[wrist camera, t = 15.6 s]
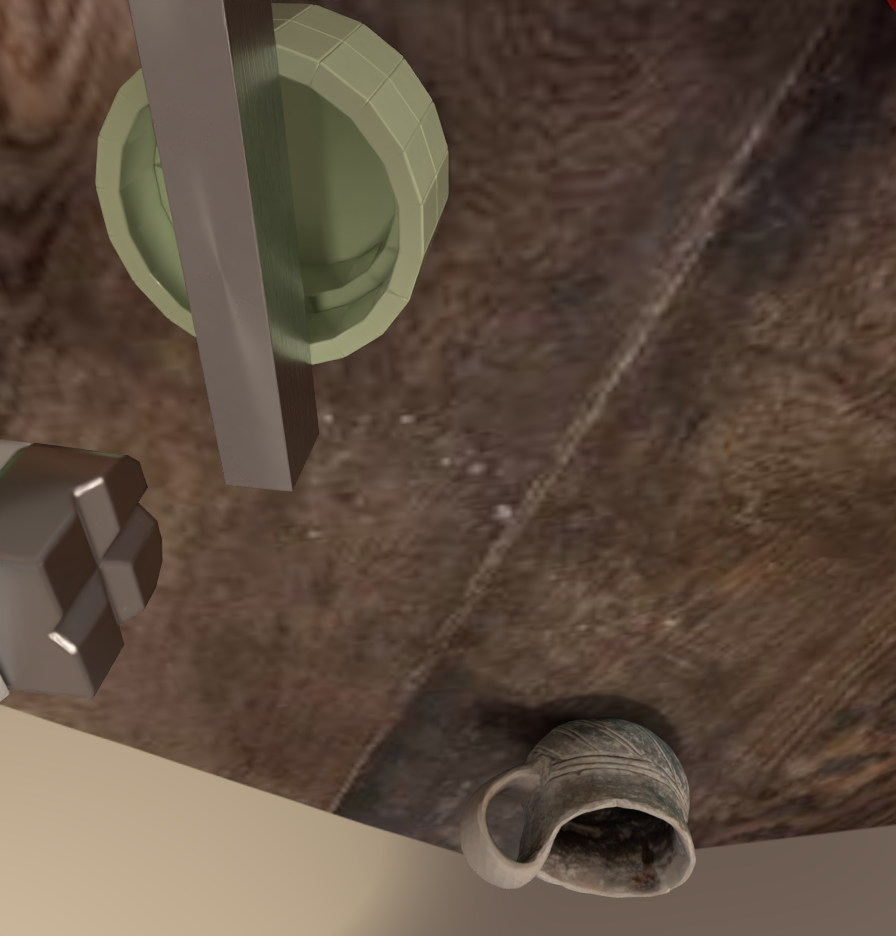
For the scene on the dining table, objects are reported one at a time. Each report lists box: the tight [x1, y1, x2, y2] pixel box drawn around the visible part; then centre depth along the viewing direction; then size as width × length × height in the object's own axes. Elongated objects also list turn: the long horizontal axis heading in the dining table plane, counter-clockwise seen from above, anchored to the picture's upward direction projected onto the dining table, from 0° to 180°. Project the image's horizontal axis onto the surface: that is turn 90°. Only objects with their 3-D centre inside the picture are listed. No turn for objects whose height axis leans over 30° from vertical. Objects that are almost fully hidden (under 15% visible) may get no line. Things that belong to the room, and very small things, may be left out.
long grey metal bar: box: [128, 0, 319, 491], centre depth 26 cm, size 16×2×4 cm, turn 0°
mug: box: [459, 717, 696, 898], centre depth 47 cm, size 10×12×10 cm
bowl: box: [95, 3, 449, 364], centre depth 30 cm, size 11×11×6 cm
